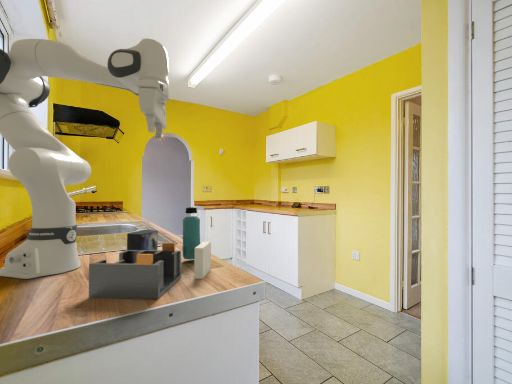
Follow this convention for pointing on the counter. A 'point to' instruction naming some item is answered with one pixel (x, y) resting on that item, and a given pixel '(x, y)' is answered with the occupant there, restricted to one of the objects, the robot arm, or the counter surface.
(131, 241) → the small box
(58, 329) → the counter surface
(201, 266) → the panel
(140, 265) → the rack
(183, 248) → the beverage bottle
